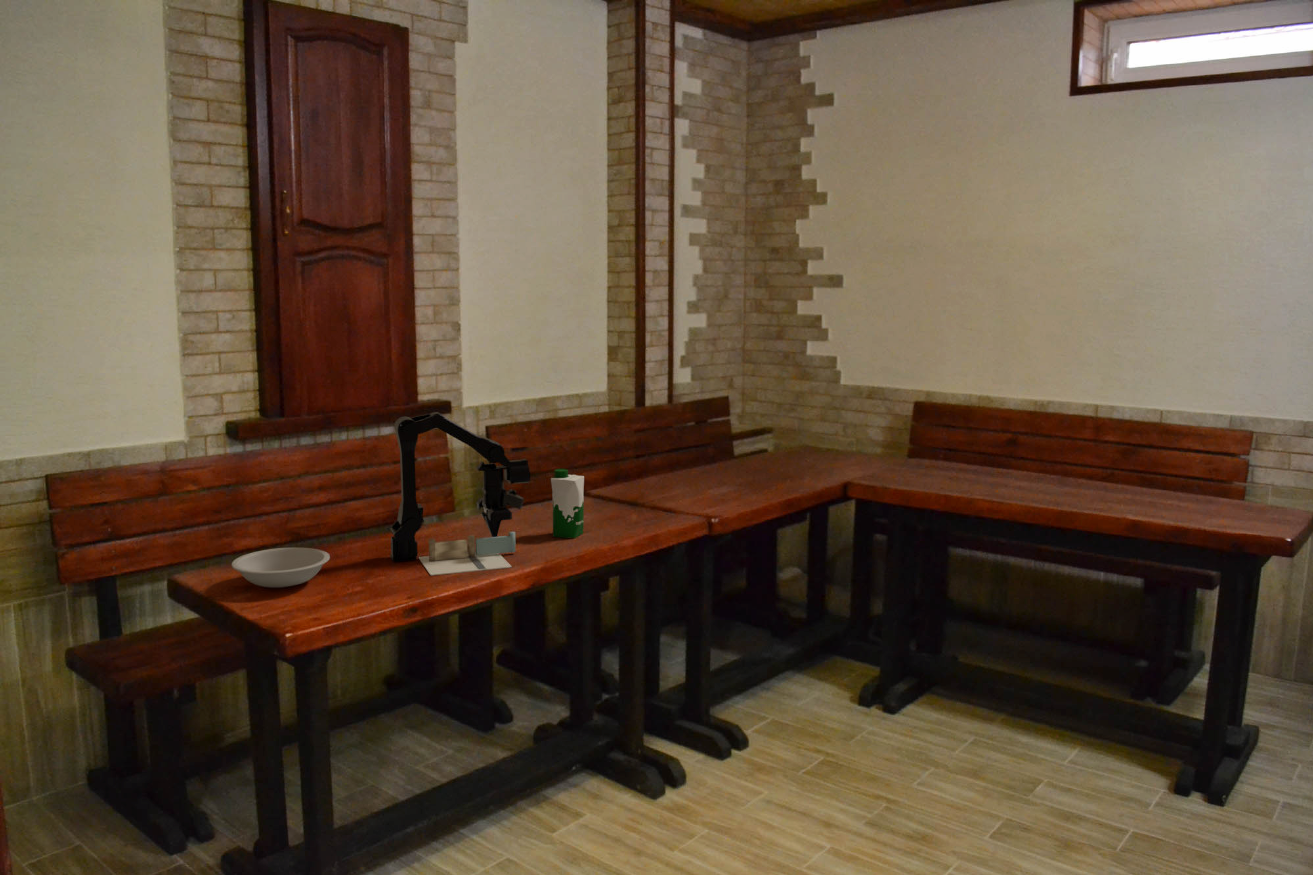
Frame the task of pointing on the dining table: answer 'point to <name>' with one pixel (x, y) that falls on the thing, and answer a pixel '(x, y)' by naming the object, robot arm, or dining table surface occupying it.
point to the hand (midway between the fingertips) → (494, 538)
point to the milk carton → (567, 504)
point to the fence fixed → (451, 549)
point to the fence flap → (496, 544)
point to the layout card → (464, 564)
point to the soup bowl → (281, 566)
